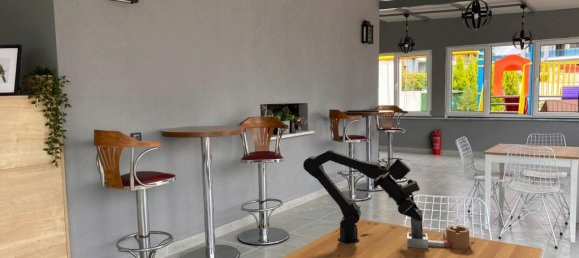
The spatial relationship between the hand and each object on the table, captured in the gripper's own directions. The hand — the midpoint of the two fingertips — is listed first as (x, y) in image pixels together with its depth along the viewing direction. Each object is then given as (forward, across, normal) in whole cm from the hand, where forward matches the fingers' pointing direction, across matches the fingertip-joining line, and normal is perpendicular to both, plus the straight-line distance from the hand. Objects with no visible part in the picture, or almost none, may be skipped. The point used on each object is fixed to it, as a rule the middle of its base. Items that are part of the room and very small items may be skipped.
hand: (421, 217), depth 176 cm
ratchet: (+10, 0, +5) cm, 12 cm away
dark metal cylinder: (+5, 0, +7) cm, 9 cm away
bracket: (+18, +7, -1) cm, 19 cm away
